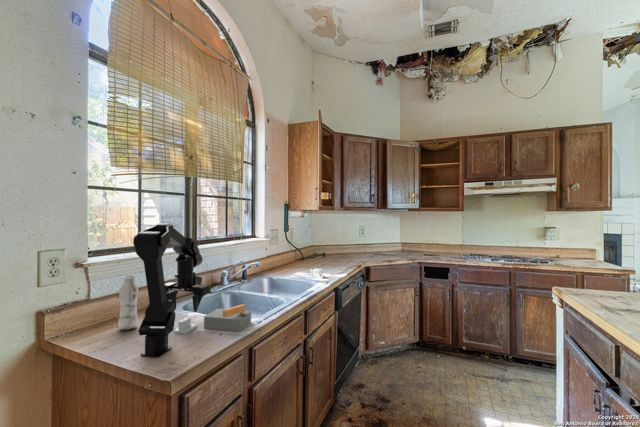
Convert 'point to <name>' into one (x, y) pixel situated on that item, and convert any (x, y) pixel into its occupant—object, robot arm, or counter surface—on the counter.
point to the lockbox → (226, 321)
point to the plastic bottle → (128, 304)
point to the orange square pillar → (234, 310)
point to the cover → (185, 326)
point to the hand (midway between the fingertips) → (184, 310)
